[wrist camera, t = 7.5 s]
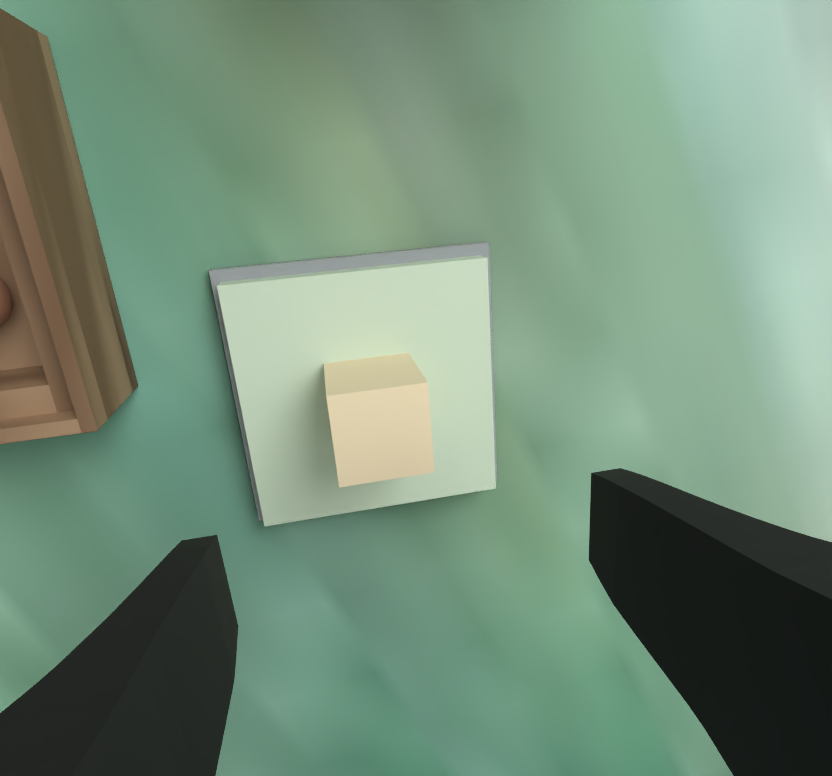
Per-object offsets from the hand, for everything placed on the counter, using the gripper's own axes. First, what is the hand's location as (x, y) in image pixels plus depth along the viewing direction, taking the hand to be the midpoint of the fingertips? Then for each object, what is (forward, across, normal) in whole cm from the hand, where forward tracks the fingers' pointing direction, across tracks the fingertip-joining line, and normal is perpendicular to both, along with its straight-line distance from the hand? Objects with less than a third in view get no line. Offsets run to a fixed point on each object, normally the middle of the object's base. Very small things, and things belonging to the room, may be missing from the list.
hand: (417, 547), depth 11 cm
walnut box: (+10, +12, -6) cm, 17 cm away
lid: (+10, 0, 0) cm, 10 cm away
